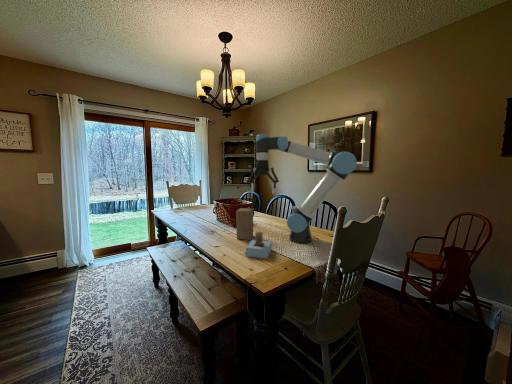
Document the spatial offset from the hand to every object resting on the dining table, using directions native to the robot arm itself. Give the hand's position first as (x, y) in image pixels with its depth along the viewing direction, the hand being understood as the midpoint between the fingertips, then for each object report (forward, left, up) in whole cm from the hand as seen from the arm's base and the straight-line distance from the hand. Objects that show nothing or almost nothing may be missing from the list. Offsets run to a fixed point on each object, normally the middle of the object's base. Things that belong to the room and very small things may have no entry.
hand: (262, 193), depth 131 cm
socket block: (-2, +17, -32) cm, 37 cm away
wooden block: (+14, -6, -33) cm, 36 cm away
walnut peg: (-2, +17, -32) cm, 37 cm away
